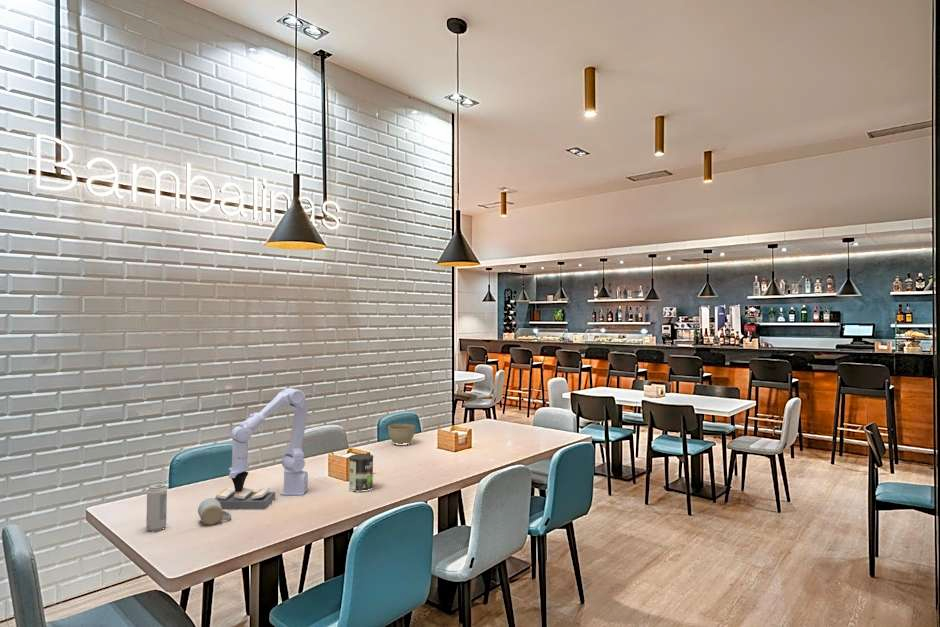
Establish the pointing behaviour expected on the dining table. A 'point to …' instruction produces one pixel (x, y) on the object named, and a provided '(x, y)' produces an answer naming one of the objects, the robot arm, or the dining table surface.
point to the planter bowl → (401, 433)
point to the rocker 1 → (225, 493)
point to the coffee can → (361, 472)
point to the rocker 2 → (260, 493)
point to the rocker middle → (243, 493)
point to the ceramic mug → (212, 512)
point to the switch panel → (247, 501)
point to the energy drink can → (156, 507)
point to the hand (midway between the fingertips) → (238, 491)
